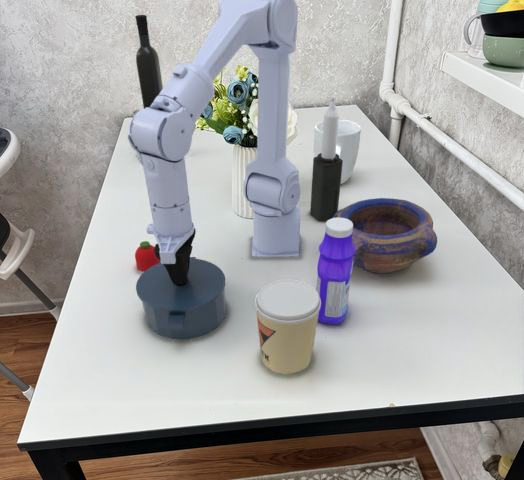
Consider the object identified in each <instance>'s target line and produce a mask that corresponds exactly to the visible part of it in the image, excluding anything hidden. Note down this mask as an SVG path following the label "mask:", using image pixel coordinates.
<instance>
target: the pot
mask: <svg viewBox="0 0 524 480" xmlns="http://www.w3.org/2000/svg"><path fill="white" fill-rule="evenodd" d="M190 258H194V259H197V257H196V256H190ZM225 293H226V292H225V289H224V290H223V292H222V293H221V295H220V296H219V297H218V298H216V299H215V300H214V301H212V302H211V303H209V304H207V305H205V306H203V307H200V308H197V309H193V310H189V311H181V312H169V311H162V310H158V309H154V308H152V307H150V306H148V305H146V304H145V303H143V302H142V301H141V303H142V309H143V311H144V312H143V313H144V317H145V320H146V322H147V325H148V328H150V330H152V332H155V333H156V334H157V335H159V336H162V337H165V338H168V339H173V340H186V339H188V340H189V339H194V338H198V337H201V336H202V337H203V336H205V335H207V334H209V333H211V332H212V331H214V330H215V329H217V328H218V327H219V326H220V325H221V323H223V321H224V319H225V318H226V311H227V310H226V309H227V304H226V294H225Z"/></svg>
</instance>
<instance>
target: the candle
mask: <svg viewBox="0 0 524 480" xmlns="http://www.w3.org/2000/svg"><path fill="white" fill-rule="evenodd" d="M339 119H340V114H339V112H338V110H337V106H336V96H335V95H332V96H331V97H330V103H329V104H328V107H327V109H326V111H325V112H324V115H323V121H324V125H323V140H322V153H320V154H318V156H317V157H314V156H313V158H312V159H313V160H312V163H313V164H312V175H311V193H310V194H311V196H310V197H311V198H310V210H309V214H310V216H311V217H312V218H313V219H315V220H316V221H318V222H320V223H321V222H322V223H323V222H327V221H328V220H329V219H332V217H333V216H334V215H335V214H336V213H337V212H338V211H339V203H340V192H341V185H342V184H341V174H342V164H343V160H342V159H340V158H339V155H338V154H336V144H337V133H338V121H339Z"/></svg>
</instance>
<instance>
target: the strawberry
mask: <svg viewBox="0 0 524 480" xmlns="http://www.w3.org/2000/svg"><path fill="white" fill-rule="evenodd" d="M154 248H155V245H152V244H151V243H150V241H148V240H147V241H146V240H144V241H141V242H140V243H139V246H138V247H137V249H136V250H135V253H134V258H135V264H136V268H137V270H138V271H140V272H142V273H144V272H145V271H146V270H147V269H149V268H150V267H152V266H154V265H156V264H158V263H161V261H160V260H159V259H158V258H157V257H156V256H155V253H154Z"/></svg>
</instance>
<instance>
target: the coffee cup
mask: <svg viewBox="0 0 524 480" xmlns="http://www.w3.org/2000/svg"><path fill="white" fill-rule="evenodd" d="M254 299H255V300H254V306H255V310H256V319H257V320H256V321H257V329H258V338H259V339H258V340H259V347H260V355H261V361H262V363H263V365H264V366H265V367H266V368H267V369H269V370H270V371H272V372H274V373H278V374H282V375H283V374H284V375H290V374H295V373H299V372H301V371H303V370H305V369H307V368H308V367H309V366H310V363H311V359H312V354H313V349H314V343H315V338H316V332H317V326H318V322H319V321H318V315H319V310H320V307H321V299H320V296H319V295H318V292H317V291H316V288H315V287H314V286H312V285H311V284H309V283H308V282H305V281H302V280H298V279H291V278H284V279H277V280H273V281H271V282H268V283H266V284H264V285H263V286H261V288H260V289H259V290H258V292H257V294H256V296H255V298H254Z"/></svg>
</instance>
